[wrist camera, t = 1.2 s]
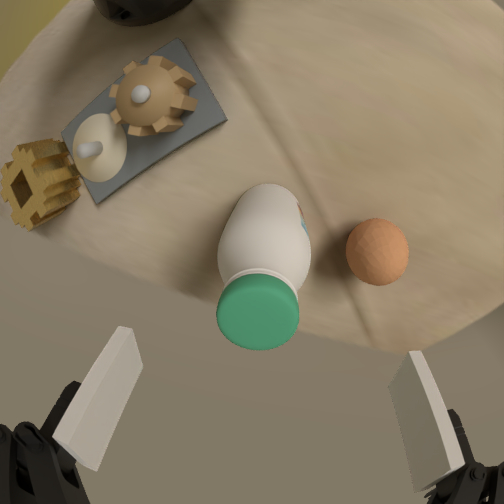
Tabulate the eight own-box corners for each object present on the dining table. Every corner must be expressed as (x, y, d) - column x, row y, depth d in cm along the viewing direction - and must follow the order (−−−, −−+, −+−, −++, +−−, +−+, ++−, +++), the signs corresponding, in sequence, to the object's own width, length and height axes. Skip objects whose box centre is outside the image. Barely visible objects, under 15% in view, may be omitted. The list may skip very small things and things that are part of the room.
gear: (27, 168, 32) (-5, 179, 25) (61, 128, 30) (25, 134, 23) (53, 221, 36) (22, 239, 29) (89, 187, 33) (55, 202, 26)
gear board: (67, 131, 30) (32, 137, 23) (181, 41, 25) (158, 21, 18) (102, 201, 34) (70, 218, 27) (227, 119, 29) (213, 116, 22)
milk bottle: (223, 222, 34) (166, 330, 16) (259, 169, 31) (233, 228, 13) (276, 255, 35) (272, 385, 17) (313, 207, 32) (357, 309, 14)
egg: (394, 209, 31) (426, 233, 23) (390, 262, 34) (415, 297, 26) (339, 211, 32) (358, 238, 24) (339, 266, 35) (354, 304, 27)
